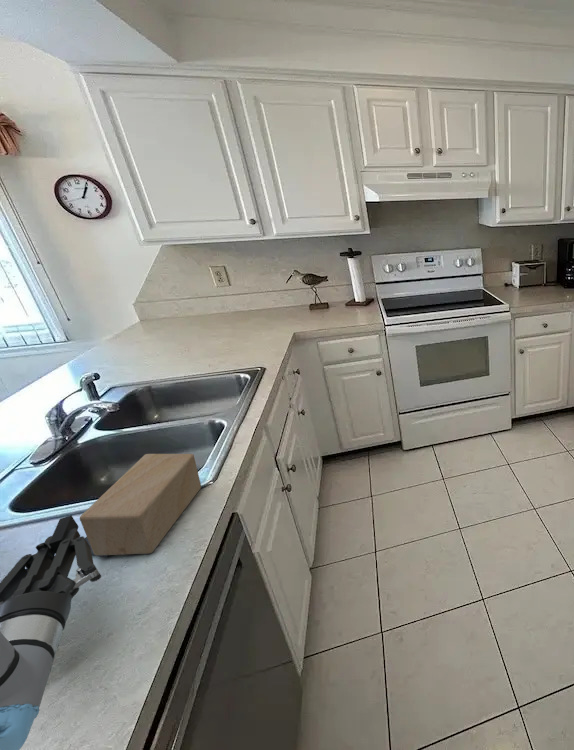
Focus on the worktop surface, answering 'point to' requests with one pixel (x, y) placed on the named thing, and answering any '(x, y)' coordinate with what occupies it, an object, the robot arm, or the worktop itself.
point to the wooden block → (142, 505)
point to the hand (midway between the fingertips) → (69, 522)
